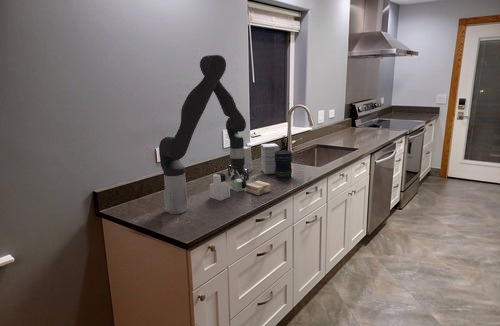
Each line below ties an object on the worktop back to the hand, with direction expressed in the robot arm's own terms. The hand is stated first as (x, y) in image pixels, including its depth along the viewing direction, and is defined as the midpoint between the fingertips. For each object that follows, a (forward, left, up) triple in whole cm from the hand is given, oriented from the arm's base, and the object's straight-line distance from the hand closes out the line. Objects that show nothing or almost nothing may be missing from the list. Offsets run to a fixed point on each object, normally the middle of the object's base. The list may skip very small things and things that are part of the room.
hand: (238, 186), depth 185 cm
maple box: (+6, -9, -2) cm, 11 cm away
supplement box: (+36, +13, -2) cm, 38 cm away
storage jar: (+33, -1, -2) cm, 33 cm away
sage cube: (0, 0, -2) cm, 2 cm away
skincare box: (+25, +25, -2) cm, 35 cm away
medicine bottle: (-14, -3, -2) cm, 15 cm away
